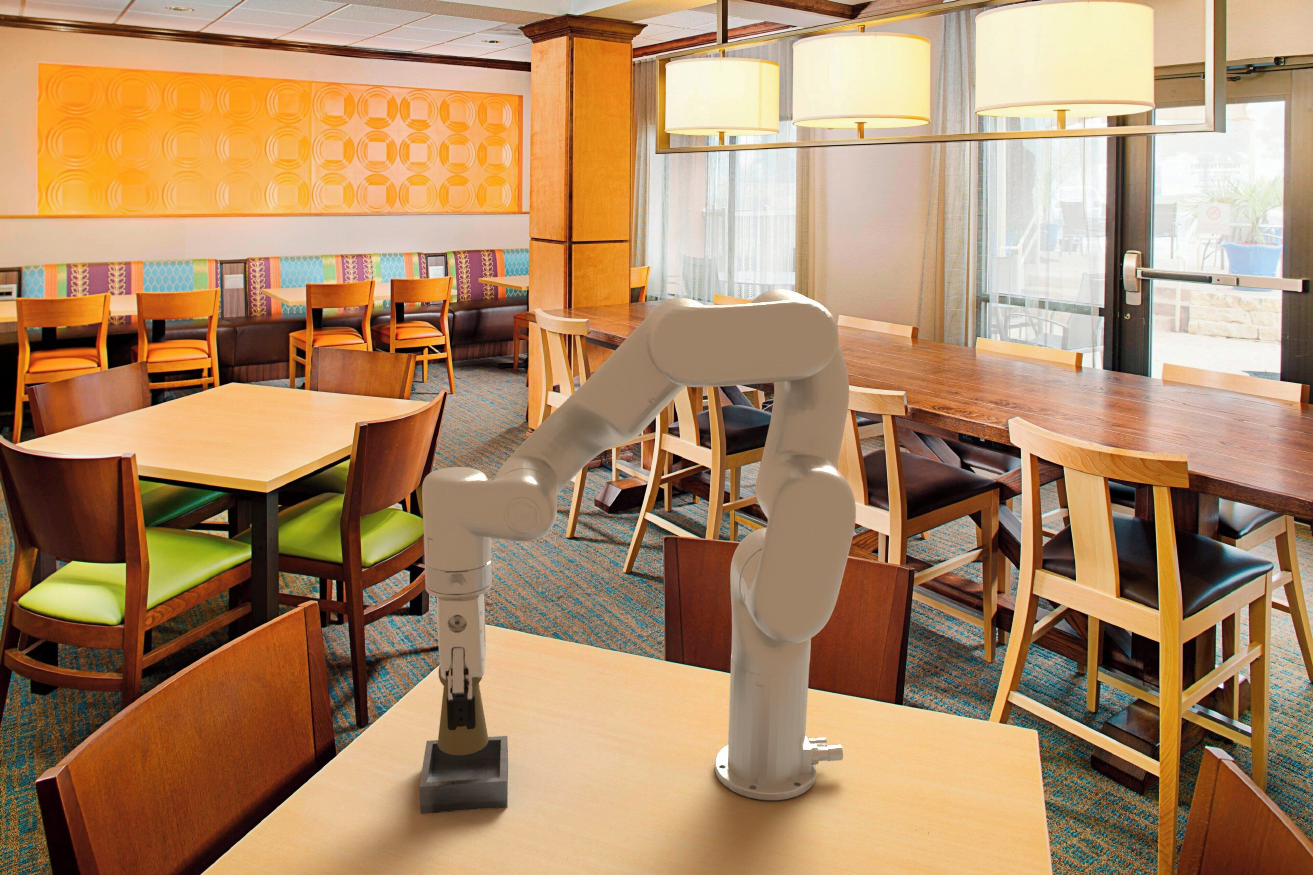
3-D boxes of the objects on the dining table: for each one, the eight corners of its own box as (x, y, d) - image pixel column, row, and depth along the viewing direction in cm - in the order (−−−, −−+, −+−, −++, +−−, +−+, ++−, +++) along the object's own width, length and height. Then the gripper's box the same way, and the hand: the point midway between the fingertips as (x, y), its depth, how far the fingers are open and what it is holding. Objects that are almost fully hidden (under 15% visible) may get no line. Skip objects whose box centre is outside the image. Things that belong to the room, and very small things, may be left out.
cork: (491, 728, 122) (489, 646, 119) (484, 755, 116) (482, 669, 113) (442, 728, 122) (439, 646, 119) (433, 755, 116) (429, 669, 113)
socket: (507, 760, 126) (507, 735, 125) (507, 807, 116) (506, 780, 115) (427, 765, 124) (426, 740, 123) (420, 813, 115) (419, 786, 114)
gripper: (489, 602, 106) (493, 754, 110) (493, 549, 122) (495, 683, 126) (418, 604, 105) (424, 758, 109) (431, 550, 121) (436, 686, 125)
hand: (462, 717), depth 118 cm, fingers closed on cork, 3 cm apart
